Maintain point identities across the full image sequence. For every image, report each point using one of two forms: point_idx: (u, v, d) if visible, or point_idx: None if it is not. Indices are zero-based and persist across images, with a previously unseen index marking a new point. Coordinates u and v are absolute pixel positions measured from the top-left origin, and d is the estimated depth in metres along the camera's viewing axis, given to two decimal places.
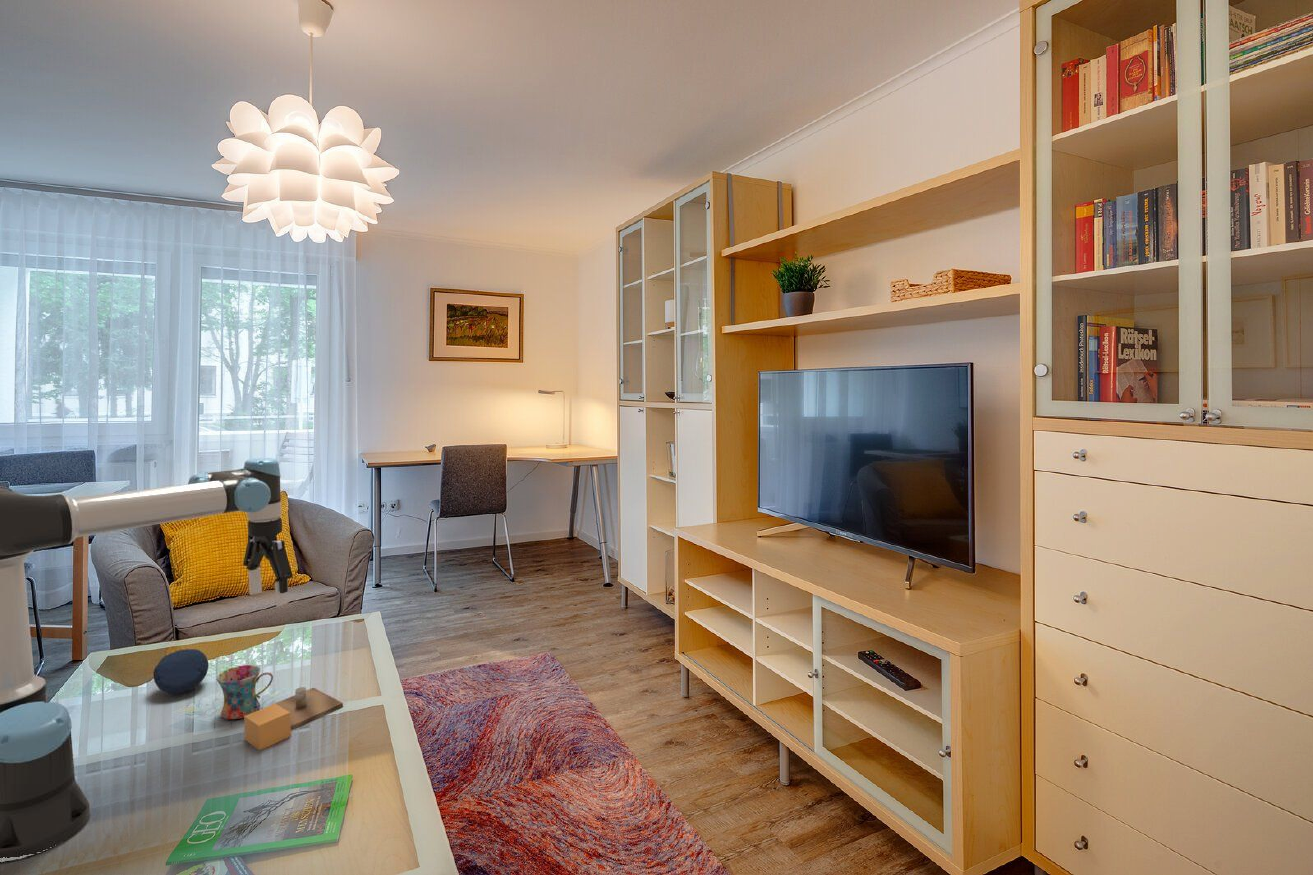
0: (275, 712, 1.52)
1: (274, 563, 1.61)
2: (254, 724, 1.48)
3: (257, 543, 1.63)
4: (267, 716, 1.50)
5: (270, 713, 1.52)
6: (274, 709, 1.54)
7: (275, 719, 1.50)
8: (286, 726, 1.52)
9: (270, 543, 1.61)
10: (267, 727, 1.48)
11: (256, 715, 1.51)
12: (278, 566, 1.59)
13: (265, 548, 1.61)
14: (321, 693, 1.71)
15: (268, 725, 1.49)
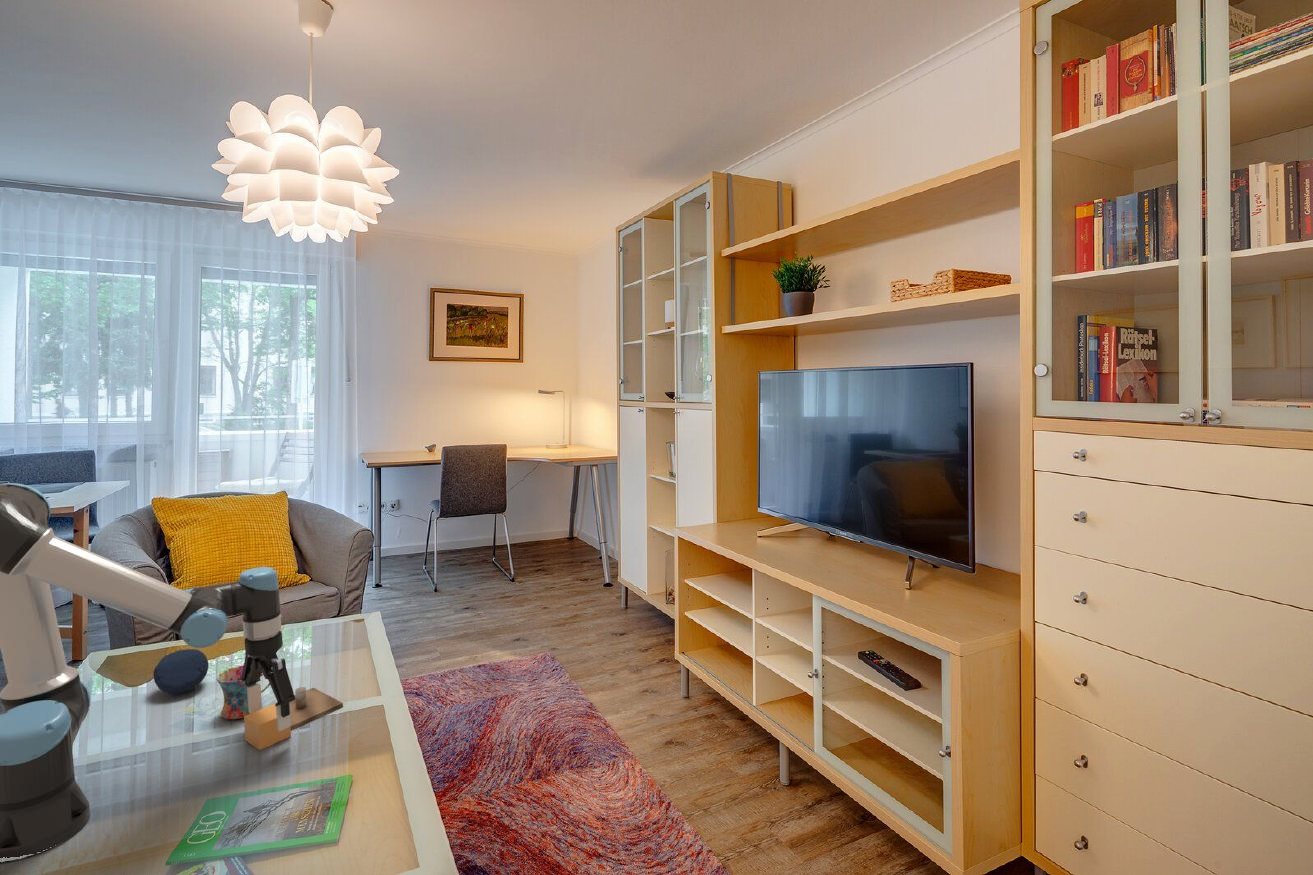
0: (275, 712, 1.52)
1: (274, 684, 1.47)
2: (254, 724, 1.48)
3: (255, 661, 1.49)
4: (267, 716, 1.50)
5: (270, 713, 1.52)
6: (274, 709, 1.54)
7: (275, 719, 1.50)
8: None
9: (270, 662, 1.47)
10: (267, 727, 1.48)
11: (256, 715, 1.51)
12: (279, 689, 1.45)
13: (264, 667, 1.48)
14: (321, 693, 1.71)
15: (268, 725, 1.49)
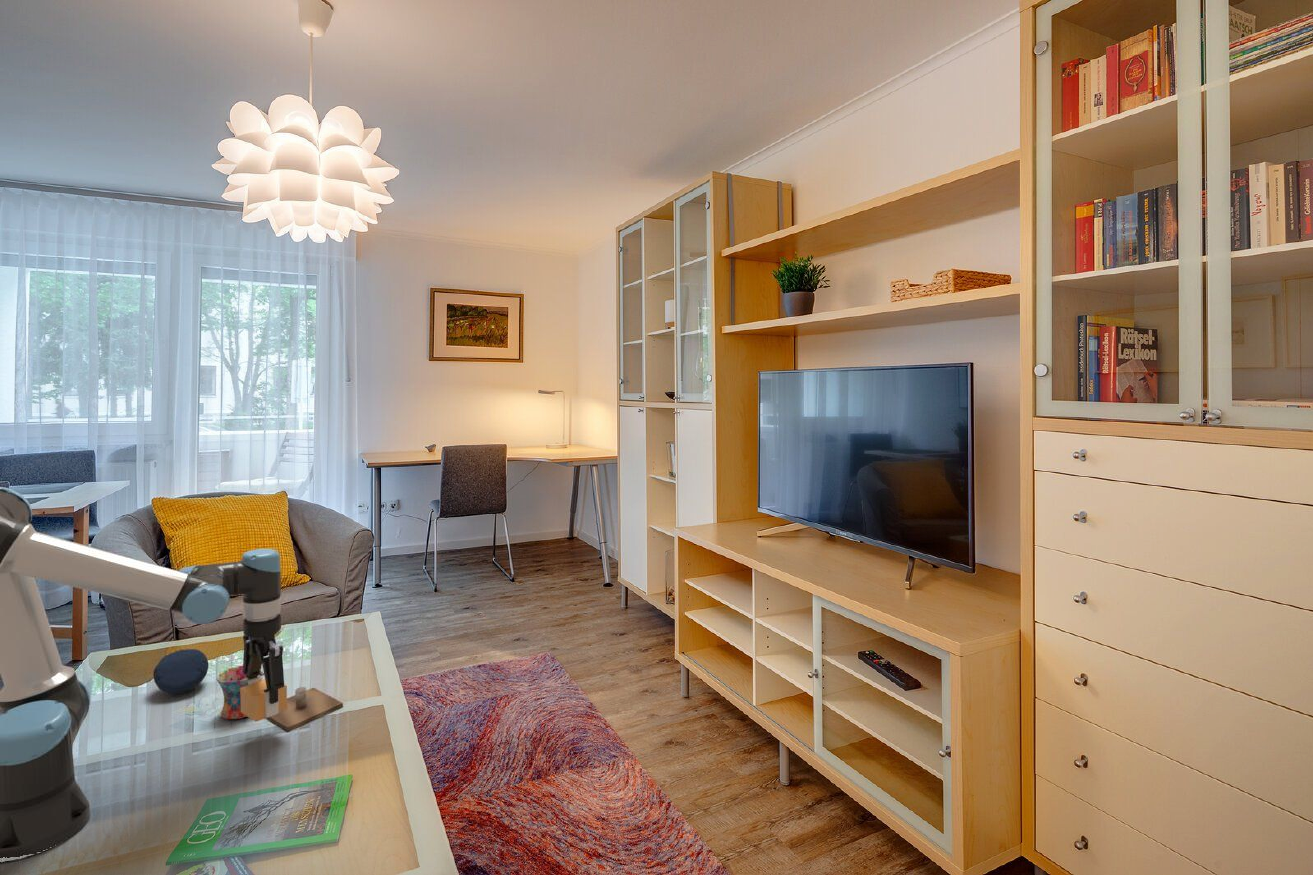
0: None
1: (267, 670, 1.47)
2: (250, 696, 1.47)
3: (253, 642, 1.48)
4: (263, 688, 1.50)
5: None
6: None
7: None
8: (282, 699, 1.51)
9: (267, 646, 1.46)
10: (263, 699, 1.47)
11: (252, 687, 1.50)
12: (271, 675, 1.46)
13: (261, 651, 1.47)
14: (321, 693, 1.71)
15: (264, 697, 1.48)
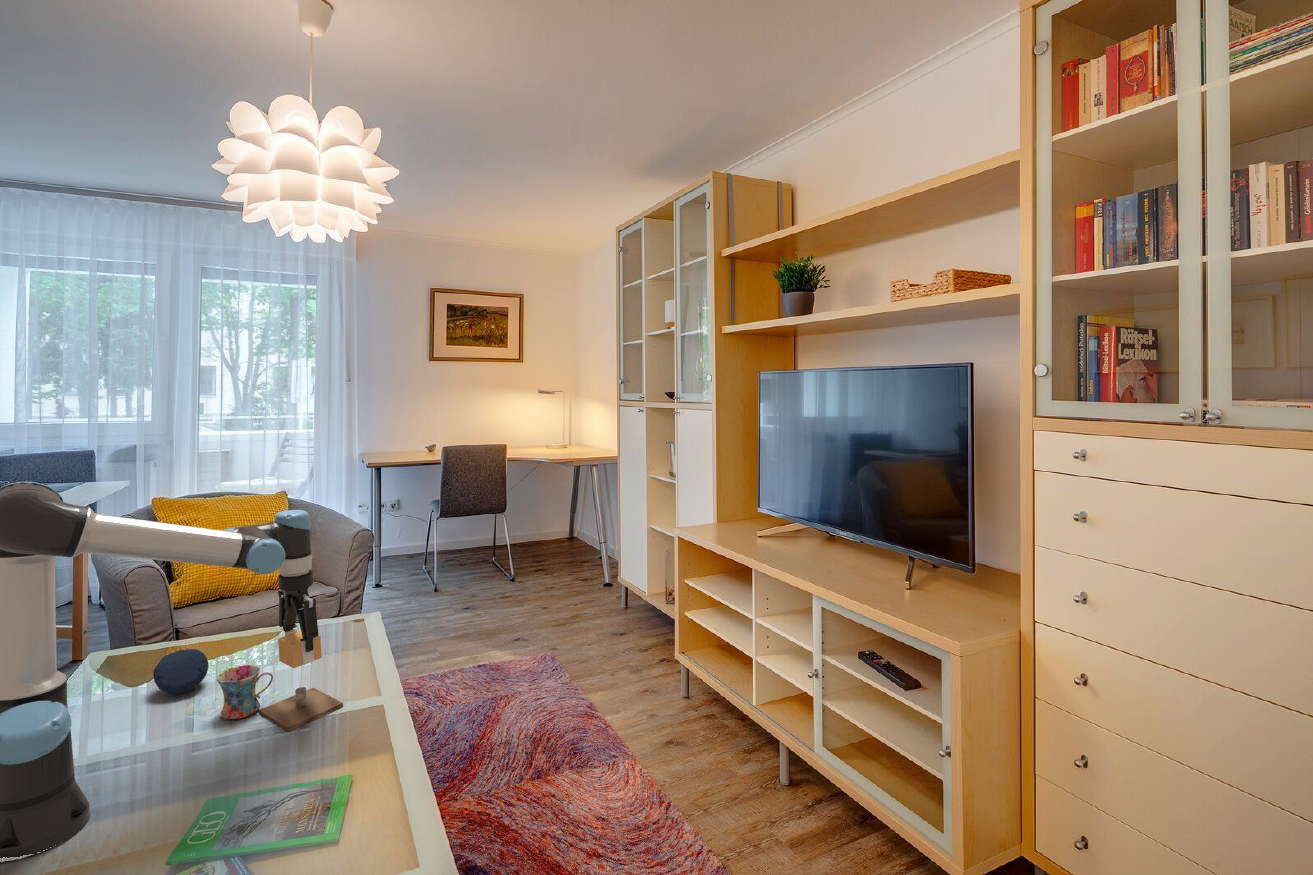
0: None
1: (302, 621, 1.59)
2: (288, 644, 1.59)
3: (288, 596, 1.60)
4: (299, 638, 1.62)
5: None
6: None
7: None
8: (317, 648, 1.63)
9: (301, 599, 1.58)
10: (300, 647, 1.59)
11: (289, 638, 1.62)
12: (306, 625, 1.57)
13: (296, 603, 1.59)
14: (321, 693, 1.71)
15: None
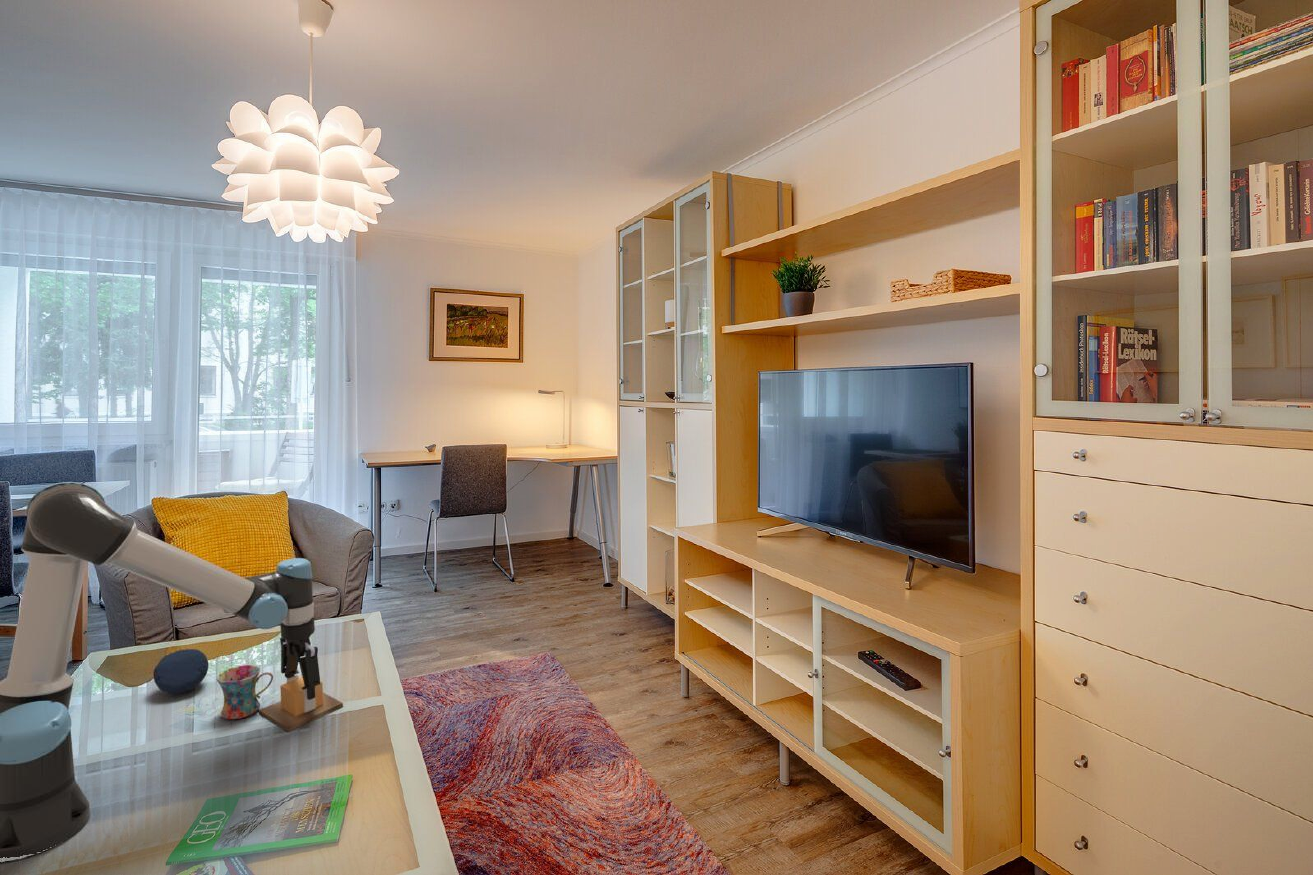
0: None
1: (304, 669, 1.60)
2: (290, 692, 1.60)
3: (290, 644, 1.62)
4: (301, 685, 1.63)
5: None
6: None
7: None
8: (319, 695, 1.65)
9: (303, 647, 1.60)
10: (302, 695, 1.61)
11: (291, 684, 1.63)
12: (308, 674, 1.59)
13: (298, 652, 1.60)
14: None
15: None
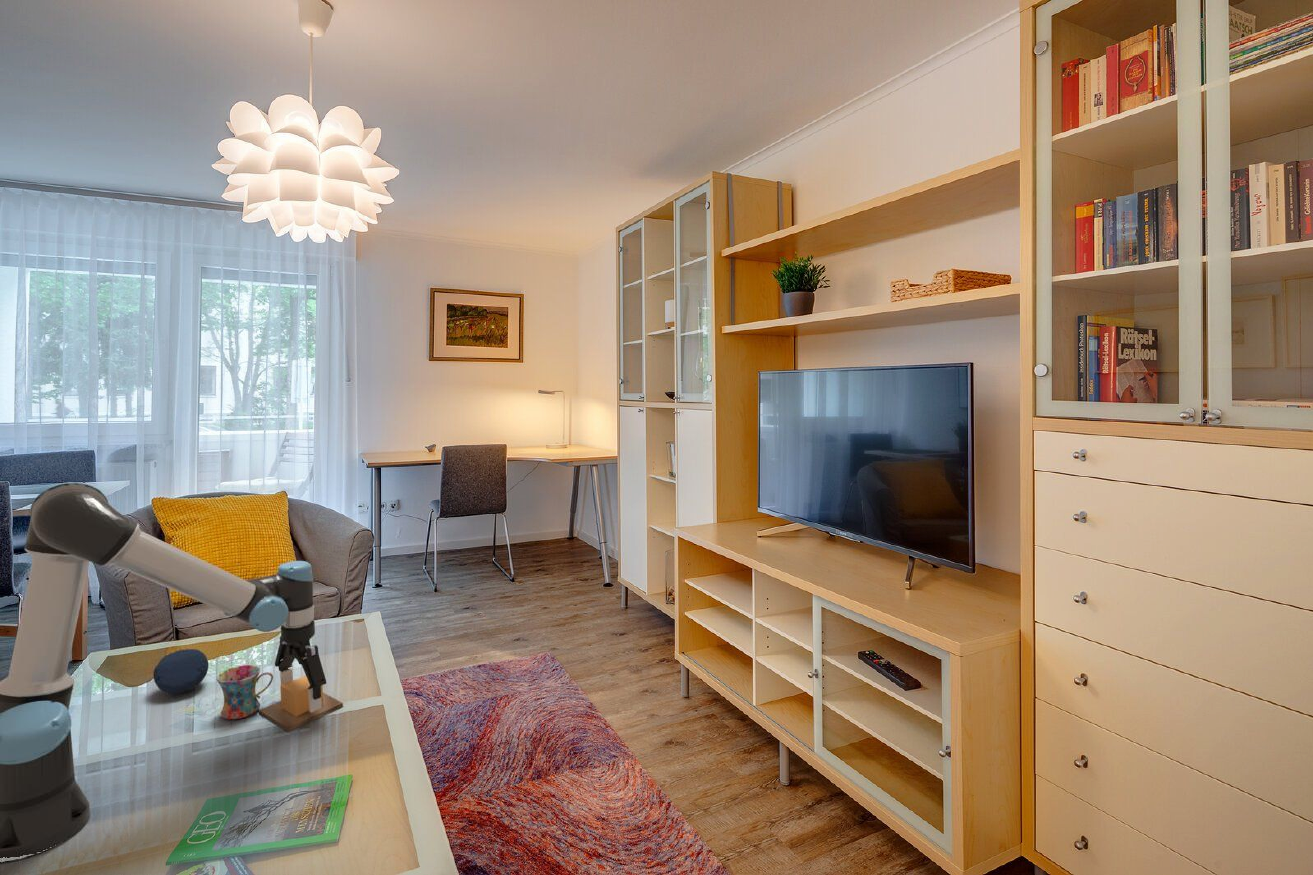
0: None
1: (307, 669, 1.59)
2: (290, 692, 1.60)
3: (290, 647, 1.62)
4: (301, 685, 1.63)
5: (304, 683, 1.64)
6: (307, 679, 1.66)
7: None
8: None
9: (303, 649, 1.60)
10: (302, 695, 1.61)
11: (291, 684, 1.63)
12: (312, 673, 1.58)
13: (298, 653, 1.60)
14: None
15: (303, 693, 1.61)
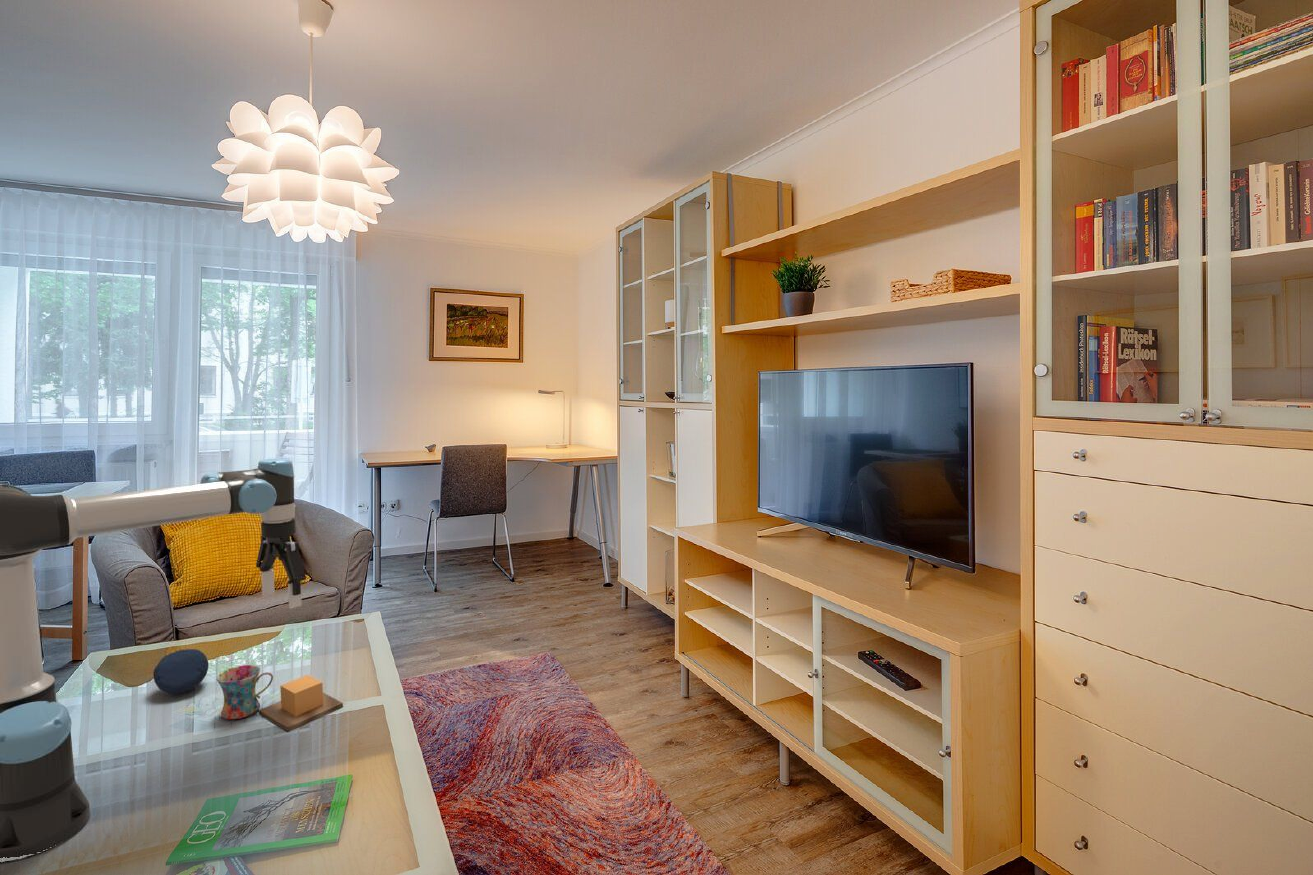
0: (309, 682, 1.65)
1: (287, 565, 1.59)
2: (290, 692, 1.60)
3: (270, 544, 1.61)
4: (301, 685, 1.63)
5: (304, 683, 1.64)
6: (307, 679, 1.66)
7: (309, 688, 1.62)
8: (319, 695, 1.65)
9: (283, 544, 1.59)
10: (302, 695, 1.61)
11: (291, 684, 1.63)
12: (291, 568, 1.57)
13: (278, 549, 1.59)
14: None
15: (303, 693, 1.61)
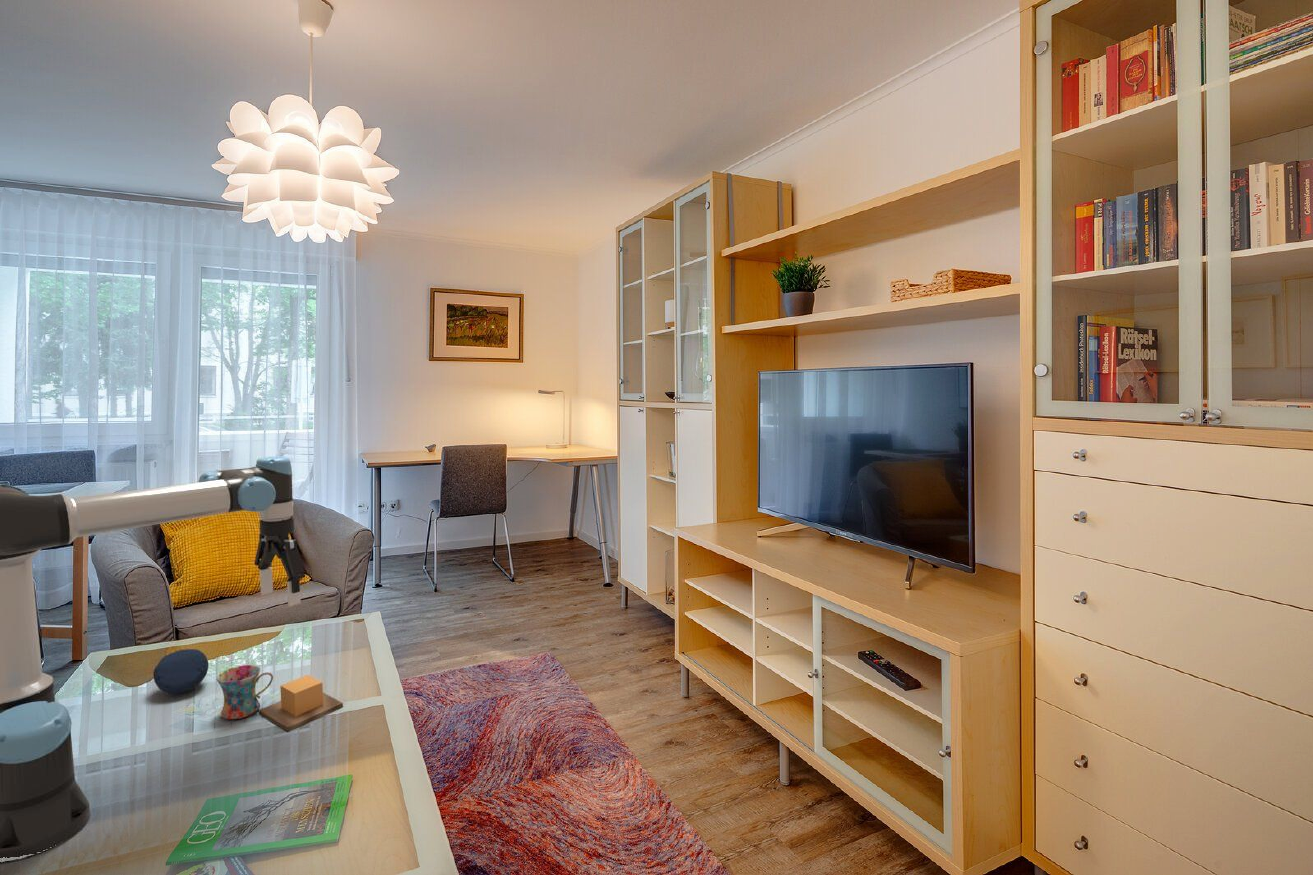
0: (309, 682, 1.65)
1: (286, 563, 1.59)
2: (290, 692, 1.60)
3: (269, 542, 1.61)
4: (301, 685, 1.63)
5: (304, 683, 1.64)
6: (307, 679, 1.66)
7: (309, 688, 1.62)
8: (319, 695, 1.65)
9: (282, 542, 1.59)
10: (302, 695, 1.61)
11: (291, 684, 1.63)
12: (290, 566, 1.57)
13: (277, 547, 1.60)
14: None
15: (303, 693, 1.61)
